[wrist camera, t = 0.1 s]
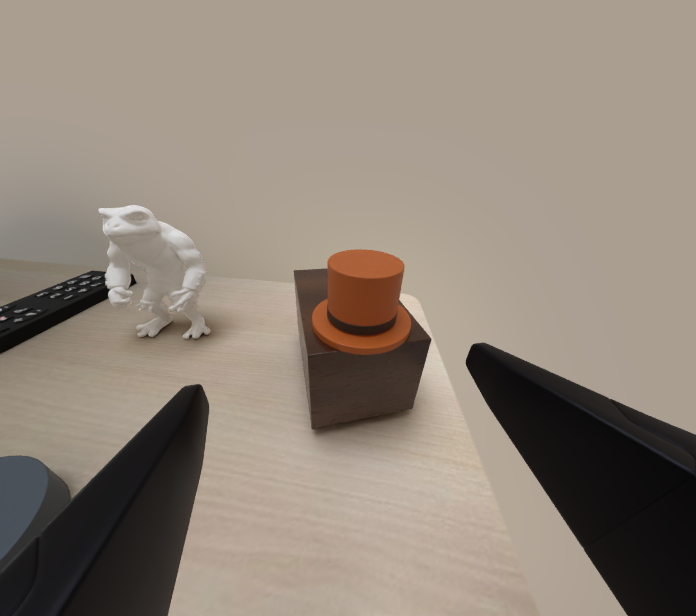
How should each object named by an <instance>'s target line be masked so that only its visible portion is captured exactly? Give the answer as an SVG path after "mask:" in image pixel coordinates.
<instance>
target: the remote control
mask: <svg viewBox="0 0 696 616" xmlns="http://www.w3.org/2000/svg"><path fill="white" fill-rule="evenodd" d="M105 274H106V272H102V271H90V272H87V273H85V274H82V275H80V276H77V277H75V278H72V279H70V280H67V281H65V282H62V283H60V284H57V285H55V286H52V287H50V288H47V289H44V290H42V291H39V292H37V293H34V294H32V295H29V296H27V297H24V298H22V299H19V300H17V301H14V302H12V303H9V304H7V305H4V306H1V307H0V353H2V352H4V351H6V350H8V349H10V348H12V347H14V346H16V345H18V344H20V343H21V342H23V341H25V340H27V339H29V338H31V337H33V336H35V335H37V334H39V333H41V332H43V331H45V330H47V329H49V328H51V327H52V326H54V325H56V324H58V323H60V322H62V321H64V320H66V319H68V318H70V317H72V316H74V315H76V314H78V313H80V312H81V311H83V310H85V309H87V308H89V307H91V306H93V305H95V304H97V303H99V302H101V301H103V300H105V299H107V298H109V297H108V293H109V291H110V290H111V289H108V288H107V285H105V281H107V280H106V278H105ZM130 275H131V283H130V285H129V287H130V286H132V285H134V284H136V281H135V278H134V276H133V275H132V274H130Z"/></svg>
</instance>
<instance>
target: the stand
mask: <svg viewBox="0 0 696 616" xmlns="http://www.w3.org/2000/svg"><path fill="white" fill-rule="evenodd" d="M69 502H70V493H69V489H68V487H67V485H66V484H65V482H64V481H63V480H62V479H61V478H59V477H58V476H57V475H56V474H55V473H54V472H53V471H51V470H50V469H49V468H48V467H47V466H46V465H45V464H43V463H42V462H41V461H39V460H38V459H35V458H32V457H28V456H6V457H0V571H1V570H2V569H3V568H4V567H5V566H6V565H7V564H8V563H9V562H10V561H11V560H12V559H13V558H14V557H15V556H16V555H17V554H18V553H19V552H20V551H21V550H22V549H23V548H24V547H25V546H26V545H27V544H28V543H29V542H30V541H31V540H32V539H33V538H34V537H36V536H39V533H40V531H41V530H42V529H43V528H44V527H45V526H46V525H47V524H48V523H49V522H50V521H51V520H52V519H53V518H54V517H55V516H56V515H57V514H58V513H59V512H60V511H61V510H62V509H63V508H64V507H65V506H66V505H67V504H68V503H69Z"/></svg>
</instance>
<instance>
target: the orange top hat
mask: <svg viewBox="0 0 696 616" xmlns="http://www.w3.org/2000/svg"><path fill="white" fill-rule="evenodd" d="M403 273H404V264H403V262H402V261H401V260H400V259H398V258H397V257H395V256H393V255H390V254H387V253H384V252H379V251H373V250H347V251H342V252H339V253H336V254H334V255H332V256H331V257H330V258H329V259H328V299H326V300H324V301H322V302H321V303H320V304H318V305H317V307H316V308H315V309H314V311H313V314H312V327H313V330H314V332H315V334H316V335H317V336H318V338H319V339H320V340H322V341H323V342H324V343H325V344H327V345H328V346H330V347H332V348H334V349H337V350H340V351H343V352H347V353H352V354H360V355H373V354H380V353H385V352H388V351H391V350H393V349H395V348H397V347H399V346H400V345H402V344H403V343H404V342H405V341H406V339H407V338H408V336H409V334H410V329H411V319H410V317H409V314H408V313H407V312H406V310H405V309H404V308H403V307H401V306H400V305H399V304H398V302H399V297H400V290H401V284H402V278H403Z"/></svg>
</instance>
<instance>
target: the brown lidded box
mask: <svg viewBox="0 0 696 616" xmlns="http://www.w3.org/2000/svg"><path fill="white" fill-rule="evenodd" d="M294 279H295V292H296V305H297V318H298V330H299V337H300V345H301V352H302V360H303V367H304V375H305V382H306V390H307V397H308V405H309V412H310V420H311V427H312V429H314V428H319V427H324V426H329V425H334V424H339V423H344V422H349V421H354V420H359V419H364V418H369V417H374V416H379V415H384V414H389V413H394V412H399V411H404V410H409V409H412V408H413V404H414V401H415V397H416V393H417V390H418V386H419V382H420V379H421V375H422V371H423V368H424V364H425V361H426V357H427V353H428V350H429V346H430V342H431V338H430V337H429V335H428V334H427V333H426V332H425V331H424V329H423V328H422V327H421V326H420V325H419V323H418V322H417V321H416V320H415V319H414V317H413V316H412V315H411V314H410V313H409V311H408V310H407V309H406V308H405V306H404V305H403V304H402V303H401V302H400V300H399V302H398V304H399V305H400V306H401V307H403V308H404V309H405V310H406V312H407V313H408V314H409V317H410V319H411V329H410V334H409V336H408V338H407V339H406V341H405V342H404V343H403V344H402V345H400V346H399V347H397V348H395V349H393V350H391V351H388V352H385V353H380V354H373V355H360V354H352V353H347V352H343V351H340V350H337V349H334V348H332V347H330V346H328V345H327V344H325V343H324V342H323V341H322V340H320V339H319V338H318V336H317V335H316V334H315V332H314V330H313V327H312V314H313V311H314V309H315V308H316V307H317V305H318V304H320V303H321V302H322V301H324V300H326V299H328V269H313V270H295V271H294Z"/></svg>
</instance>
